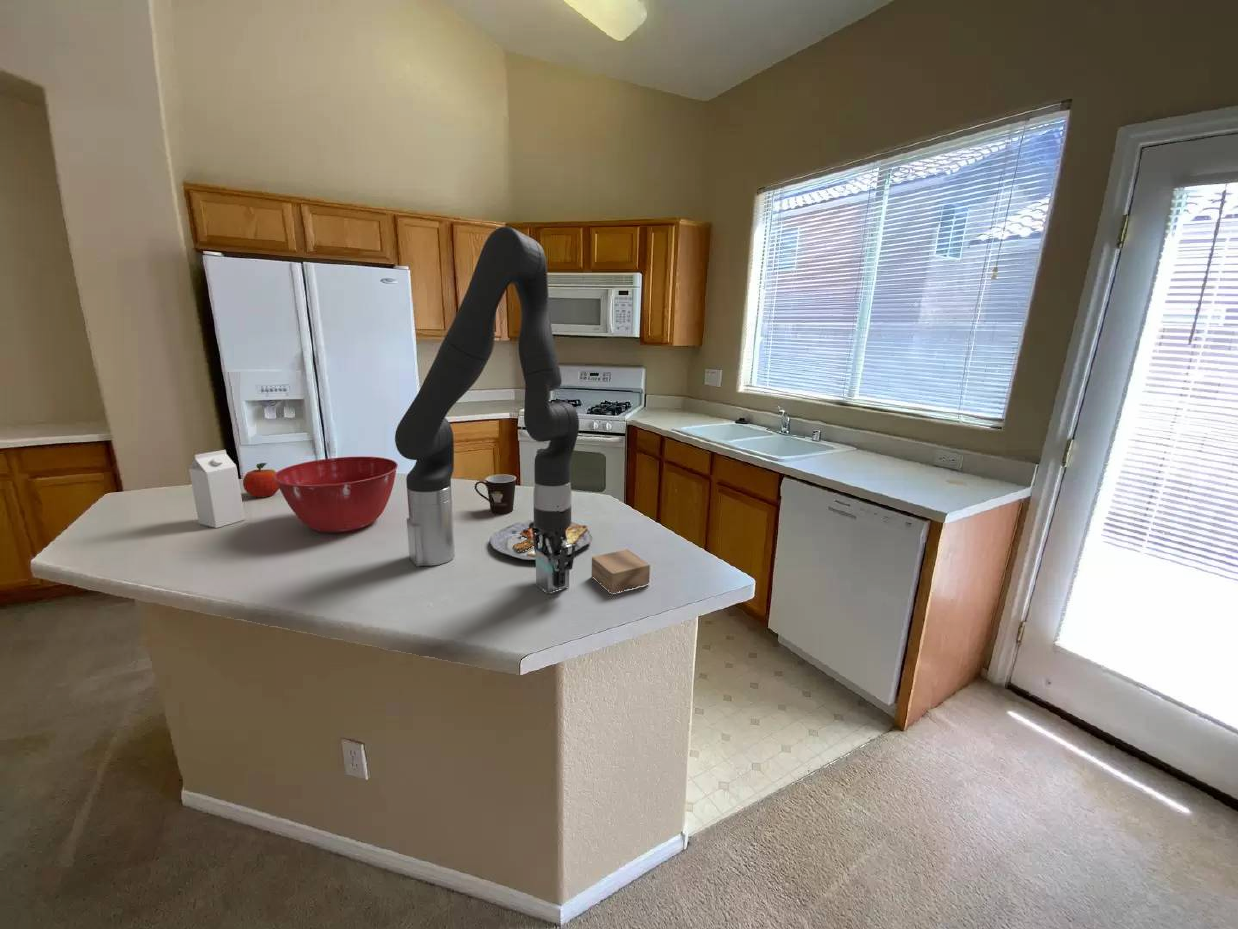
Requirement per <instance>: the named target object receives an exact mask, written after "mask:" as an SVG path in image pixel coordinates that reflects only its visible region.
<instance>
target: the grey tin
mask: <svg viewBox="0 0 1238 929" xmlns="http://www.w3.org/2000/svg"><path fill="white" fill-rule="evenodd" d="M554 554H555V555H556V556H557V555H560V554H561V552H558V553H554ZM559 562H560V559H558V565H559ZM567 563H568V562H567ZM535 584H537V585H538V586H539V588H540V587H541V588H542V589H544V590H545V591H546V592H547V593H550V592H553V591H556V590H559V589H564V588H567V587H569V588H570V570H566V571H565V585H564V586H562V587H559V588H556V587H555V586H554V561H553V560H552V559H551V556H550V555H549V550H546V549H545V547H544V548H543V549H540V548H538V549H536V559H535ZM537 585H536V586H537ZM538 586H537V587H538ZM541 588H540V589H541ZM542 589H541V590H542ZM567 589H568V588H567ZM564 590H565V589H564ZM546 592H545V593H546ZM547 593H546V594H547Z"/></svg>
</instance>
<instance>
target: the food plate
mask: <svg viewBox="0 0 1238 929" xmlns="http://www.w3.org/2000/svg"><path fill="white" fill-rule="evenodd" d="M532 526H534V519H532V520H531V519H530V520H526V521H522V522H516V523H514V524H511V525H509V526H506V527H505V528H503V529H500V530H498V531H496V532H494V533H493V534H492V535H491V536H490V538H489V543H490V544H489V545H491V546H492V548H493V549H494V550H495V551H498V552H499V553H501V554H505V555H507V556H509V557H513V558H518V559H521V560H528V561H529V560H536V554H535V551H534V549H533V550H532V551H530V552H529V553H526V555H524V554H521V553H519V552H523V551H525V550H528V549H529V548H531V547H532V546H534V543H533V534H532ZM518 532H520V533H518ZM516 533H518V534H520V536H521V535H522V537H524V538H527V539H526V540H524V541H523V542H521V543H520V542H516V543H514V544H513V545H512V548H514V549H515V550H514V549H513V550H514V551H512V550H511V549H510V548H509V546H508V545H509V544H508V541H509V540H511V538H513V537H512V536H511V534H516ZM514 536H516V535H514ZM566 536H567V542H568V543H569V544H575V552H577V551H579V550H580V549H581V548H583V547H585V546H587V545H588V544H590V543H591V542H592V541H593V537H592V535H591V533H590V530H589V529H588V526H587V525H582V524H578V523H575V522H572V521H571V525H570V526H569V527H568V528H567V530H566ZM513 539H514V538H513ZM538 543H539V542H538ZM507 546H508V547H507ZM508 548H509V549H508ZM516 551H517V552H516ZM518 551H519V552H518ZM528 551H529V550H528ZM523 553H524V552H523Z"/></svg>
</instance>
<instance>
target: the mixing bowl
mask: <svg viewBox="0 0 1238 929" xmlns="http://www.w3.org/2000/svg"><path fill="white" fill-rule="evenodd" d="M398 468H399V465H398V463H397V462H396V461H395V460H392V459H390V458H386V457H379V456H344V457H341V456H340V457H332V458H331V457H330V458H324V459H318V460H317V459H315V460H310V461H305V462H301V463H297V464H293V465H290V466H288V467H285V468H282V469H279V470H278V471H276V472H277V473H275V475H274V476H273V479H274V480H275V481H276V482H277V484H278V486H279V490H280V492H281V494H282V497H283V498H284V500H285V501H286V503H287V504H288V506H289V508H290V509H291V510H292V512H293V513H294V514H295V515H296V517H297V518H298V519H299V520H300V521H301V522H302V524H304V525H305V526H307V527H309V528H311V529H313V530H316V531H318V532H321V533H326V534H342V533H349V532H355V531H358V530H361V529H364V528H366V527H368V526H370V525H371V524H372V523H373V522H375V521H376V520H378V518H379V517H381V515H382V514H383V513H384V510H385V509H386V507H387V505H388V502H389V500H390V497H391V494H392V492H393V489H394V488H393V487H394V483H395V480H396V472H397V469H398Z"/></svg>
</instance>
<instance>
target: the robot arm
mask: <svg viewBox="0 0 1238 929" xmlns="http://www.w3.org/2000/svg"><path fill="white" fill-rule="evenodd" d="M548 278H549V277H548V264H547V257H546V254H545V251H544V249H543V247H542V246H541V243H539V242H538V241H537V240H535V239H533V238H532V237H530V236H529V235H526V234H524V233H522V232H521V231H519V230H517V229H515V228H512V227H509V226H501V227H498V228H496V229H495V230H493V231H492V232H491V234H490V235H488V237H487V239H486V241H485V242H484V243H483V247H482V249H481V251H480V254H479V256H478V260H477V261H476V266H475V267H474V271H473V273H472V277H471V278H470V282H469V284H468V287H467V289H466V292H465V295H464V297H463V299H462V301H461V303H460V306H459V308H458V310H457V313H456V315H455V317H454V319H453V321H452V322H451V325H450V326H449V329H448V330H447V333H446V335H445V336H444V338H443V341H442V342H441V345H440V347H439V349H438V351H437V353H436V355H435V358H434V360H433V362H432V364H431V367H430V368H429V370H428V372H427V374H426V376H425V378H424V380H423V382H422V385H421V386H420V389H419V391H418V393H417V395H416V396H415V397H414V399H413V401H412V402H411V404H410V405H409V407H408V408H407V410H406V412H405V413H404V415H403V416H402V417H401V419H400V421H399V423H398V424H397V427H396V429H395V433H394V434H395V435H394V443H395V447H396V450H397V451H398V453H399V455H401V457H403V458H405V459H407V460H411V461H415V464H414V466H413V468H412V469H411V470H410V471H409V472H408V474H407V475H406V478H405V479H406V481H405V482H406V491H407V492H406V494H407V507H408V518H406V527H407V528H406V529H407V541H408V542H407V543H408V555H409V556H408V557H409V559H410V560H411V561H412V562H413V564H414V565H415V566H416V567H422V566H425V567H426V566H429V567H430V566H438V565H442V564H445V563H448V562H450V561H451V560H452V559H454V557H455V541H454V540H455V538H454V518H453V516H454V515H453V500H452V499H453V498H452V476H453V473H454V470H455V445H454V444H455V439H454V432H453V428H452V426H451V424H450V421H449V420H448V419H447V418H446V416H447V415H448V413H449V412H450V410H451V409H452V407H454V405H455V404H456V403H457V402H458V401H459V400H460V399H462V397H463V396H464V395H465V394H466V393H467V392H468V391H469V390H470V389H471V388H472V387H473V386H474V384H475V383H476V382H477V380H478V379H479V377H480V376H481V374H482V373H483V372H484V369H485V368H486V365H487V363H488V361H489V359H490V358H491V355H492V353H493V351H494V347H495V346H494V345H495V338H496V337H495V336H496V335H495V332H496V326H495V325H496V316H497V310H498V307H499V305H500V302H501V301H502V298H503V297H504V294H505V292H506V291H507V288H509V286H510V284H511V285H514V288H515V291H516V294H517V297H518V299H519V300H518V301H519V304H520V310H521V322H520V329H519V333H518V334H519V335H518V346H517V347H518V357H519V362H520V367H521V371H522V376H523V380H524V409H523V411H524V412H523V422H524V427H525V431H526V432H527V434H528V435H529V437H530V438H531V439H533V440H534V441H535V442H539V443H540V442H541V443H543V442H549V444H548V446H547V447H546V448H544V449H543V450H542V451H540V452H538V453H537V454H536V455H535V457H534V466H533V467H534V468H533V469H534V470H533V471H534V485H533V494H532V496H533V501H532V502H533V520H534V526H532V534H533V543H534V548H533V550H534V551H535V554H536V549H538V548H540V549H543V548H544V547H545V549H546V550H549V555H550V556H551V559H552V560H553V561H554V586H555V587H556V588H559V587H562V586H564V585H565V571H566V570H569V571H570V570H572V569H573V565H574V558H575V554H576V551H575V544H569V543H568V542H567V536H566V530H567V528H568V527H569V526H570V525H571V522H572V487H571V486H572V485H571V462H572V457H573V454H574V450H575V446H576V443H577V439H578V436H579V431H580V419H579V414H578V411H577V409H576V408H575V407H574V405H572V404H571V403H569V402H565V401H562V402H551V403H550V401H549V399H550V392H552V391H555V390H557V389H559V388H560V387H561V385H562V383H563V382H562V380H563V379H562V373H561V370H560V365H559V360H558V355H557V351H556V347H555V342H554V336H553V329H552V321H551V310H550V309H551V308H550V297H549V296H550V294H549V281H548ZM538 542H539V545H538ZM558 552H561V554H560V555H557V556H556V555H555V554H554V553H558ZM558 559H560V562H559V565H558ZM567 562H568V563H567Z"/></svg>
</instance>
